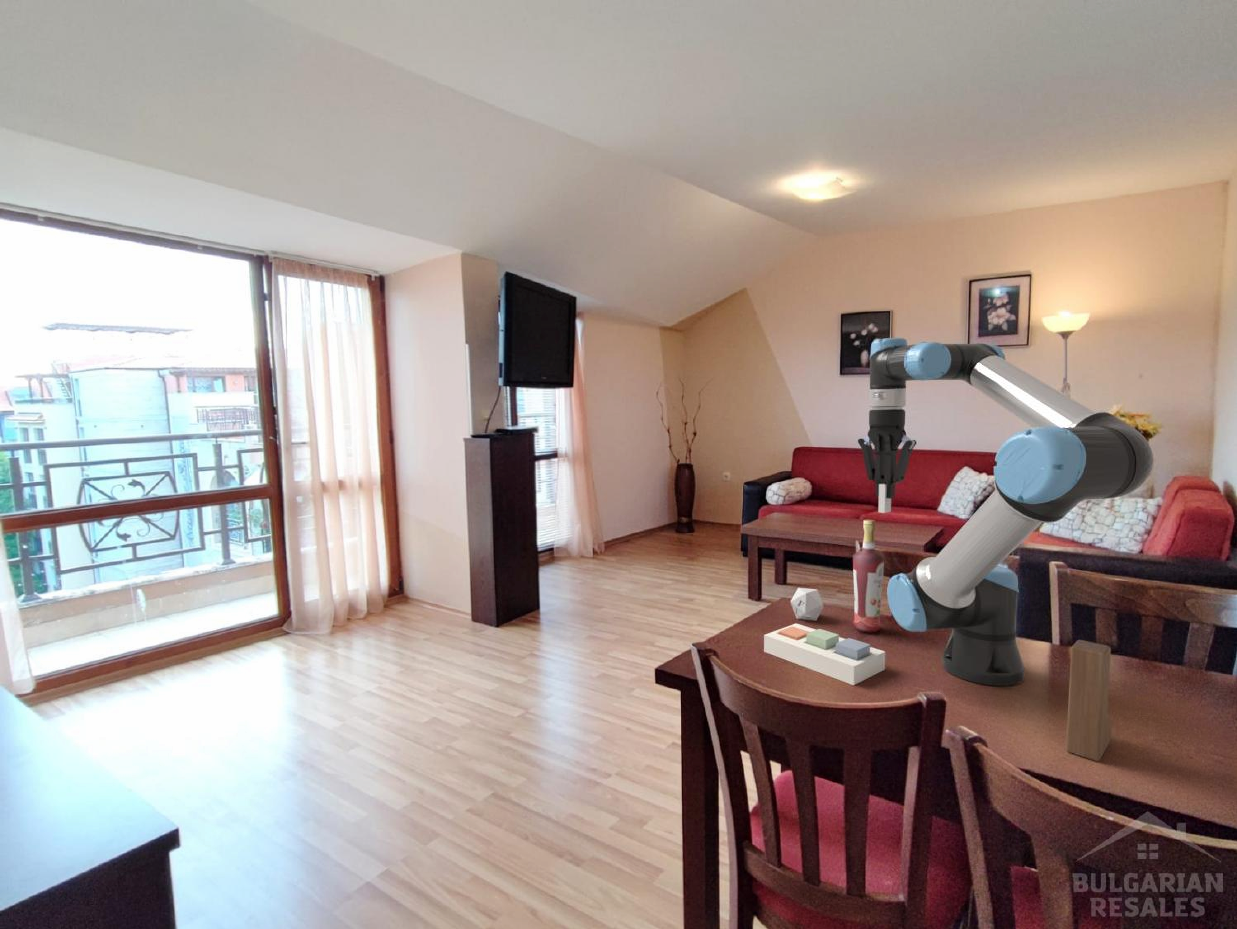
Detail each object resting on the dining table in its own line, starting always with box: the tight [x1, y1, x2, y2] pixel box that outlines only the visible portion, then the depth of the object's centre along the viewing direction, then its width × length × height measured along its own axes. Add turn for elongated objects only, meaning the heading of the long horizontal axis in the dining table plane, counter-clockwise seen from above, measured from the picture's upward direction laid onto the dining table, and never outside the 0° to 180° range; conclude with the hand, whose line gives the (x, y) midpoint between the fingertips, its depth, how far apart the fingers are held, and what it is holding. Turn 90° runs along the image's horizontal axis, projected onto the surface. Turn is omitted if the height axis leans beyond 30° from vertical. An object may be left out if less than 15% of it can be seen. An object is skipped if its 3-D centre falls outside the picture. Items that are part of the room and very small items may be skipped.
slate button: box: [836, 637, 871, 661], centre depth 135 cm, size 5×5×3 cm
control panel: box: [763, 623, 886, 686], centre depth 141 cm, size 23×12×4 cm, turn 38°
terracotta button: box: [779, 626, 810, 640], centre depth 147 cm, size 5×5×3 cm
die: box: [790, 587, 824, 622], centre depth 169 cm, size 8×9×10 cm
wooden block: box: [1065, 639, 1113, 762], centre depth 104 cm, size 9×4×18 cm, turn 133°
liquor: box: [852, 519, 885, 634], centre depth 159 cm, size 7×7×28 cm
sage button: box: [806, 628, 840, 650], centre depth 141 cm, size 5×5×3 cm
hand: (884, 512), depth 144 cm, fingers closed
